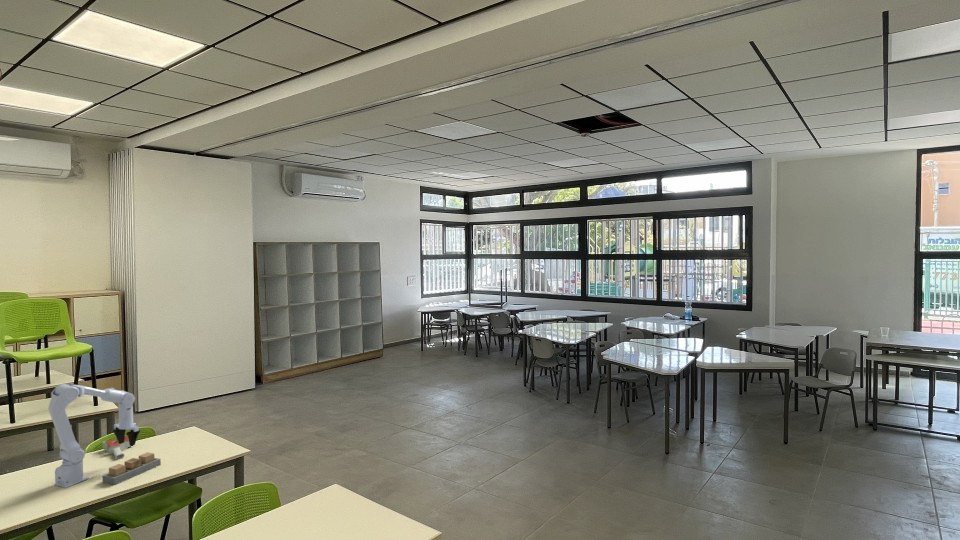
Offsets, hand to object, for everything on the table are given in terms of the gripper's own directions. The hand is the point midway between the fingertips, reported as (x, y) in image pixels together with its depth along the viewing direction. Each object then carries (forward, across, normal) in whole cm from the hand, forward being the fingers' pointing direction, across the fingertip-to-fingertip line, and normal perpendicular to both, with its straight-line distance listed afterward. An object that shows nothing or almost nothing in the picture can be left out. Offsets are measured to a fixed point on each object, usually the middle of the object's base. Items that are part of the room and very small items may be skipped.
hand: (126, 444), depth 250 cm
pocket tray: (+9, -13, +7) cm, 18 cm away
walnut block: (+8, -13, +7) cm, 17 cm away
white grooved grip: (+10, +18, -8) cm, 22 cm away
